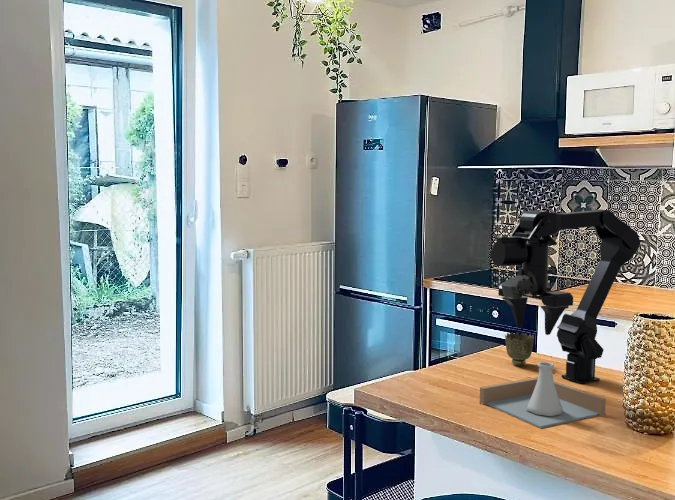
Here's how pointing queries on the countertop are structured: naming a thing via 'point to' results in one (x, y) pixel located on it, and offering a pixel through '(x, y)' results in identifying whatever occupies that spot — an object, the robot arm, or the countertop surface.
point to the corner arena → (519, 393)
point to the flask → (545, 393)
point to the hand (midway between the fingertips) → (533, 330)
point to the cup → (519, 347)
